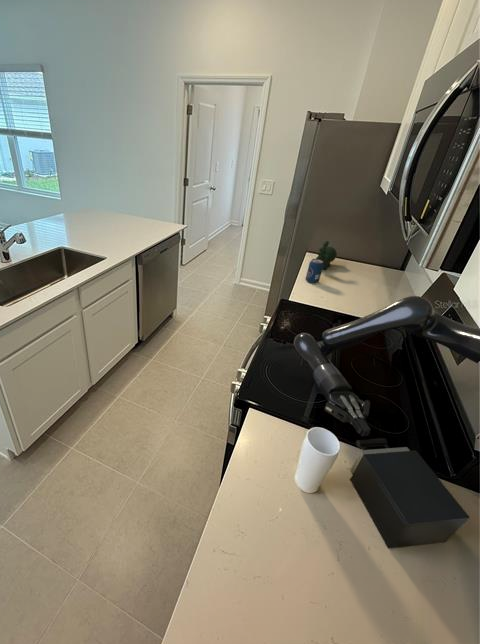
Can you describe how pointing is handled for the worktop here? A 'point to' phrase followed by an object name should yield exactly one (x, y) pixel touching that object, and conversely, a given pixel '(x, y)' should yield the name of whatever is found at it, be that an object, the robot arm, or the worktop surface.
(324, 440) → the drinking glass
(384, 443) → the drawer
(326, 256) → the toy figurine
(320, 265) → the soda can
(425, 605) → the worktop surface
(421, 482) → the cabinet
